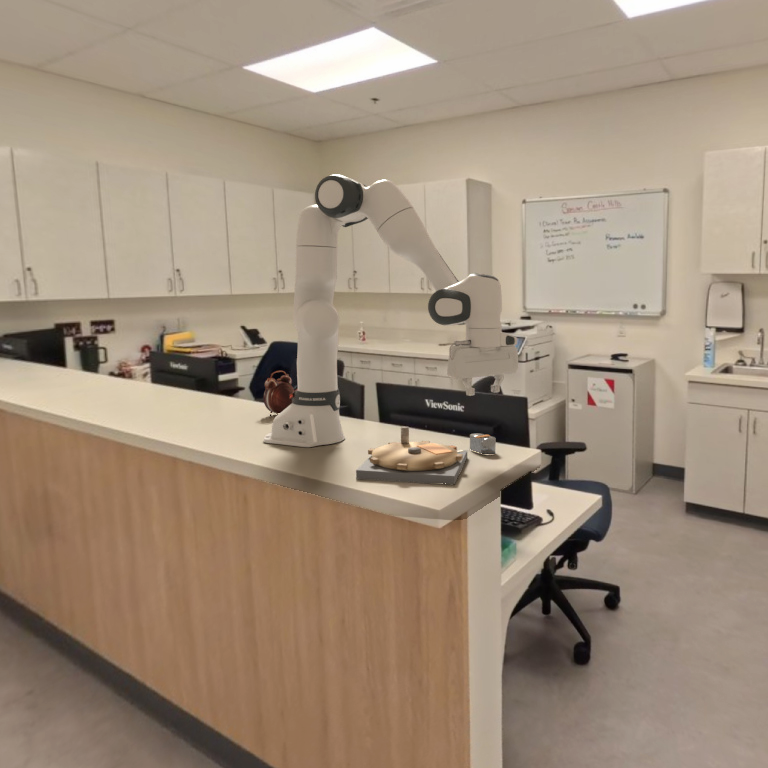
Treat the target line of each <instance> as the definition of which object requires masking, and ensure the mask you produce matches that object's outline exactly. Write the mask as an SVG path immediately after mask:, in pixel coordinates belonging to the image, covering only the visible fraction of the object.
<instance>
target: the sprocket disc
mask: <svg viewBox="0 0 768 768" xmlns="http://www.w3.org/2000/svg"><path fill="white" fill-rule="evenodd" d="M457 450H458V447H457V446H455V445H446V444H442V443H436V442H431V441H429V440H421V441H410V427H409V426H401V427H400V442H398V441H391V442H388V444H383V445H381V446H378V447H376V448H374V447H371V448H369V449H368V450H367V453H368V454H367V455H370V456H371V455H372V458H370V462H371V463H373V464H377V465H379V466H382V467H385V468H390V469H396V470H407V471H423V470H434V469H440V468H444V467H448V466H450V465H453V464H454V463H456V462H457V461H461V460H462V459H463V454H457Z"/></svg>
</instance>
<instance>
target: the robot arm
mask: <svg viewBox="0 0 768 768" xmlns="http://www.w3.org/2000/svg"><path fill="white" fill-rule="evenodd" d="M314 198H315V203H316V204H311V205H308V206H305V208H303V209H302V210H301V211H300V214H299V217H298V224H297V229H296V230H297V231H296V243H295V280H294V281H295V283H294V295H293V309H292V310H293V311H292V322H293V326H294V328H295V329H296V331H297V351H296V352H297V354H296V355H297V356H296V357H297V358H296V378H297V379H296V380H297V388H296V389H294V392H293V393H292V394H290V395H291V396H290V398H292V404H290V405H289V406H288V407H287V408H286V409H284V410H283V411H282V412H281V413H280V414H277V416H276V415H275V417H274V419H273V421H272V423H271V424H272V425H271V432H268V433H267V434H265V435H264V437H263V443H265V444H275V445H284V446H292V447H293V446H294V447H301V448H311V447H317V446H322V445H330V444H336V443H340V442H342V441H343V440H345V435H344V431H343V427H342V423H341V417H340V406H341V405H340V404H341V396H340V389H339V387H338V352H339V351H338V350H339V340H340V338H339V337H340V316H339V312H338V311H337V309H336V307H335V306H334V296H335V291H336V290H335V289H336V282H337V279H338V278H337V277H338V271H337V270H338V236H339V230H340V229H341V228H342V227H343V228H348V227H351V226H353V225H357V224H361V223H362V222H365V221H366V220H369V221H370V223H371V224H372V226H373V227H374V229H375V230H376V232H377V234H378V235H379V237H380V238H381V240H382V242H383V243H384V244H385V245H386V246H387V247H388V248H389V250H390V251H392V252H393V254H395V255H397V256H399V257H400V258H403V259H405V260H407V261H409V262H411V263H412V264H414V265H415V266H416V267H417V268H419V269H420V271H422V272H423V274H424V276H425V277H426V279H427V280H428V282H429V283H430V284H431V286H432V287H433V289H434V290H435V292H433V293H432V295H431V296H430V297H429V300H428V303H427V309H428V310H427V311H428V315H429V317H430V318H431V319H432V321H434V322H435V323H436V324H438V325H441V326H447V327H449V326H463V325H465V340H456V341H454V342H453V343H451V344H450V346H449V349H448V352H449V353H448V359H447V360H448V361H447V369H446V371H447V376H448V377H449V378H450V379H453V380H461V382H462V384H463V385H464V388H465V394H466V396H469V397H471V396H475V395H476V392H475V391H476V389H475V388H474V387H472V384H471V383H472V382H473V381H472V380H473V378H481V377H482V378H483V377H489V376H490V377H491V376H493V377H494V379H495V380H494V382H493V384H490V391H491V393H493V394H495V393H500V391H501V390H500V389H501V387H500V386H501V385H502V383H503V380H504V376H505V375H510V374H515V373H517V370H518V368H519V351H518V348H517V347H516V345H518V337H516V336H514V335H512V334H509V333H507V332H503V331H502V323H501V313H502V311H503V310H502V309H503V295H502V287H501V282H500V280H499V279H498V278H497V277H495V276H494V275H490V274H484V273H477V272H474V273H473V272H472V273H470V274H469V275H468V276H466V277H465V278H464V279H462V280H460V281H459V280H458V278H457V277H456V276H455V274H454V273H453V271H452V270H451V269H450V267H449V266H448V264H447V262H446V261H445V260H444V259H443V257H442V255H441V254H440V252H439V251H438V250H437V248H436V246H435V244H434V242H433V240H432V238H431V236H430V235H429V233H428V231H427V229H426V227H425V225H424V223H423V221H422V219H421V218H420V216H419V214H418V212H417V211H416V209H415V208H414V206H413V205H412V203H411V202H410V201H409V199H408V197H407V196H406V195H405V194H404V193H403V192H402V190H401V189H400V188H399V187H398V185H396V184H395V182H393V181H392V180H389V179H381V180H377V181H375V182H373V183H372V184H370V185H368V186H367V185H365V184H363V183H361V182H360V181H358V180H357V179H354V178H351V177H348V176H345V175H342V174H331V175H328V176H324V177H323V178H322V179H321V180H320V181H319V182H318V184H317V185H316V189H315V192H314Z"/></svg>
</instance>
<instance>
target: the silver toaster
mask: <svg viewBox="0 0 768 768" xmlns="http://www.w3.org/2000/svg"><path fill="white" fill-rule="evenodd" d="M496 439H497V438H496V437H495V436H491V435H490V434H486V433H485V434H484V433H471V434H469V450H470V449H471V450H473V451H476V452H479V453H482V454H495V455H496V450H497V449H496V442H497V441H496Z"/></svg>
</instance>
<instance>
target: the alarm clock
mask: <svg viewBox="0 0 768 768" xmlns="http://www.w3.org/2000/svg"><path fill="white" fill-rule="evenodd" d="M276 373H283V374H284V375H281V376H280V378H277V379H275V378H274V377H273V376H274V374H276ZM292 384H293V380H292V378H291V377H290V376H289V374H288V373H286V371H284V370H276V371H274V372H272V373H271V374H270V377H267V378H266V380H265V382H264V388H265V390H264V392H263V403H264V406H265V408H266V409H267V410H268V411H269V412H270V413H272V414H273V413H274V414H277V415H278V413H281V412H282V411H283V410H284V409H286V408H287V407H288V406H289V405H290V404H292V398H290V396H291V395H290V394H292V393H293V392H294V391H295V388H294V387H293V386H292Z"/></svg>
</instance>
